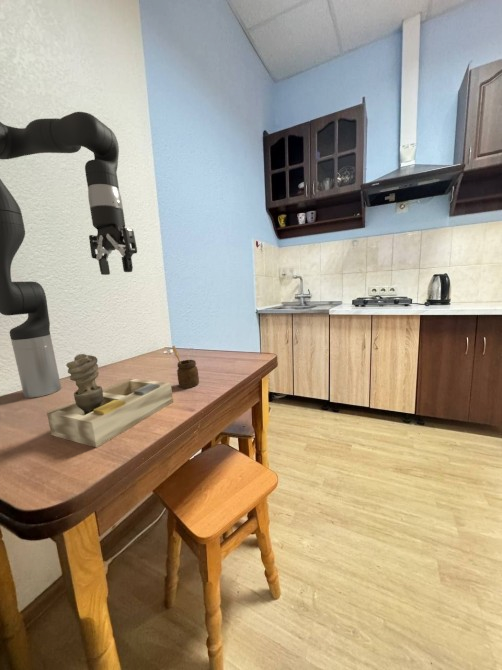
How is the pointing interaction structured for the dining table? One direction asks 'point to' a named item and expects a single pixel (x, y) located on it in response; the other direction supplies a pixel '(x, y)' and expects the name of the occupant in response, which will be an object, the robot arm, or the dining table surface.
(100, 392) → the light bulb
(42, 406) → the dining table surface
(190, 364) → the utensil holder
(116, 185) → the robot arm
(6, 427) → the dining table surface
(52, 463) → the dining table surface
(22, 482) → the dining table surface
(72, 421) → the socket block
